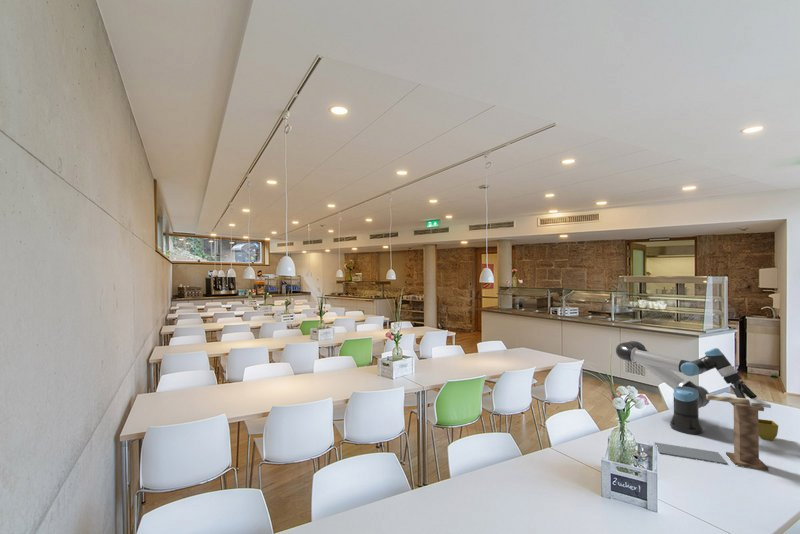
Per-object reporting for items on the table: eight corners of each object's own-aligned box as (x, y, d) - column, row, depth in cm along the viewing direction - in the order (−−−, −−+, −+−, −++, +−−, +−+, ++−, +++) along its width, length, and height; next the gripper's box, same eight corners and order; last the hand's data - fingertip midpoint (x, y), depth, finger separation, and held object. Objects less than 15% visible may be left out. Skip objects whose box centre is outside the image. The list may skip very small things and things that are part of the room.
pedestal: (735, 465, 181) (734, 405, 182) (725, 454, 192) (725, 398, 193) (768, 470, 177) (767, 408, 177) (757, 459, 188) (756, 401, 188)
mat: (659, 453, 193) (659, 452, 193) (654, 443, 205) (654, 442, 205) (727, 464, 182) (727, 463, 182) (718, 453, 194) (717, 452, 194)
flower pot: (757, 439, 212) (757, 422, 212) (752, 433, 220) (751, 417, 220) (779, 442, 208) (778, 425, 208) (772, 436, 216) (772, 420, 216)
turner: (709, 401, 188) (709, 396, 188) (704, 397, 195) (704, 393, 195) (770, 407, 179) (770, 403, 179) (763, 403, 185) (763, 399, 185)
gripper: (729, 374, 210) (759, 414, 199) (743, 369, 224) (772, 406, 214) (715, 380, 215) (743, 418, 204) (730, 374, 229) (757, 410, 218)
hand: (758, 412), depth 209 cm, fingers open, 13 cm apart
